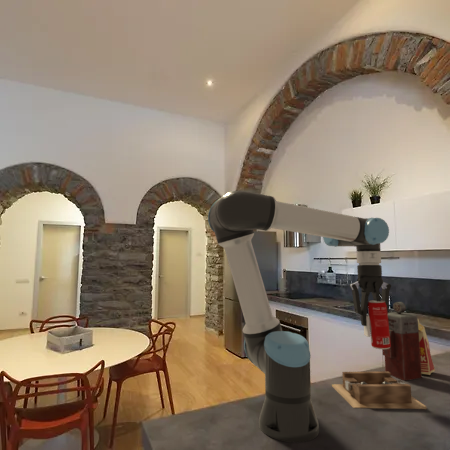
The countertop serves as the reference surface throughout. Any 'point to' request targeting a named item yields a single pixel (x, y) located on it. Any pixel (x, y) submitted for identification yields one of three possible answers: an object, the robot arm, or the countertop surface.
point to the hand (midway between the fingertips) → (372, 335)
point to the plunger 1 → (349, 385)
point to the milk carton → (425, 352)
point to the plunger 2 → (391, 383)
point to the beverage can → (379, 324)
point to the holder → (377, 391)
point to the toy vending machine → (403, 345)
